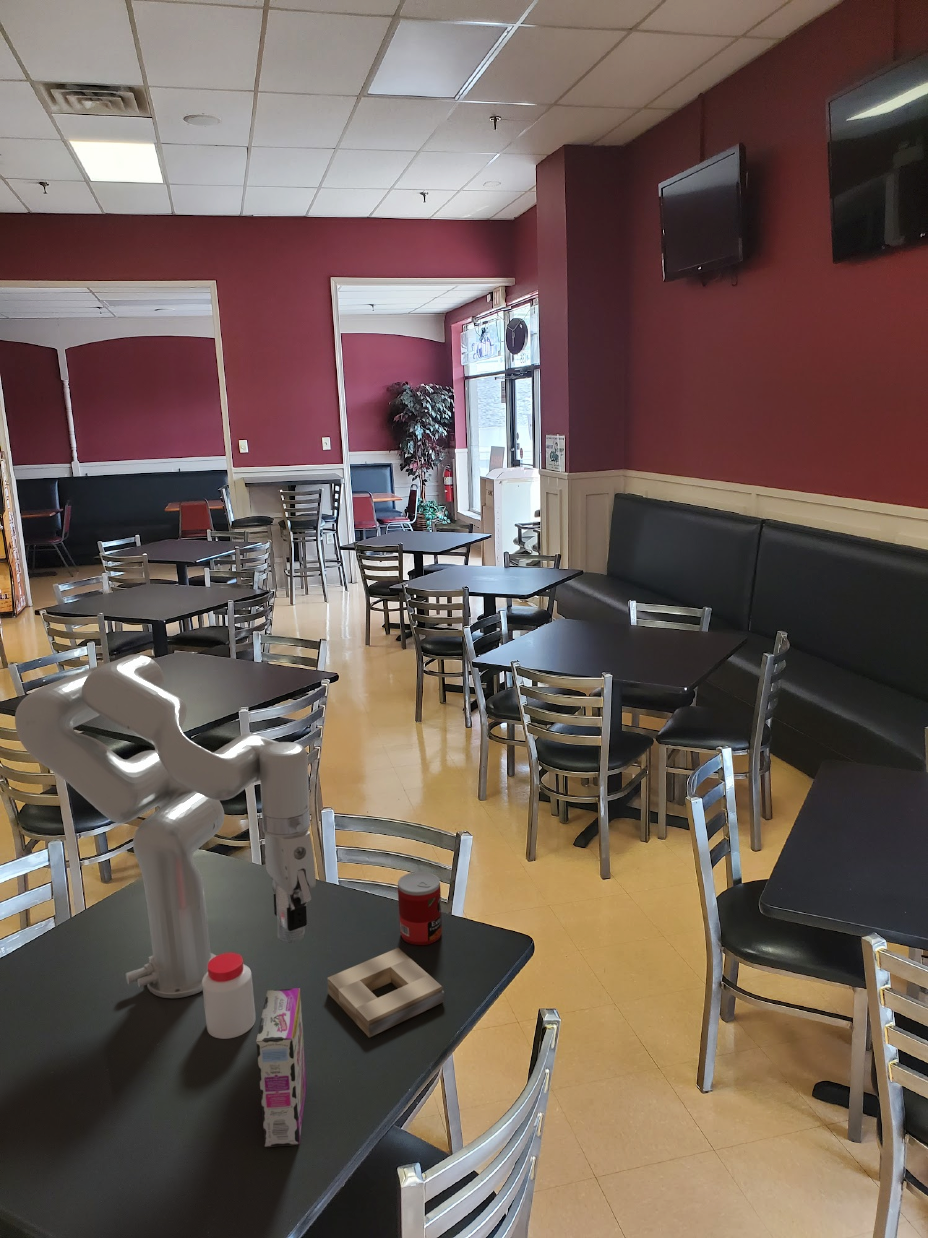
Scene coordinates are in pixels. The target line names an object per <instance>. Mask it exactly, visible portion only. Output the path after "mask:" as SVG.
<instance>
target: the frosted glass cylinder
mask: <svg viewBox="0 0 928 1238" xmlns="http://www.w3.org/2000/svg"><path fill="white" fill-rule="evenodd" d="M275 884H276V893H275V894H276V906H277V916H276V921H277V923H276V924H277V939H278V941H280V942H281V943H287V944H291V943H296V942H299V941H301V940H302V939H303V938H304V937H305V936H306V935H305V934H306V931H305V927H306V926H304V927H301V928H298V929H295V930H292V931H289V930H288V928H287V908H289V904H288V897H287V893H286V892H285V891H284V890H283V889H282V888H281V887H280V886H279V885H278V884H277V883H276V882H275ZM296 887H298V886H297V885H296ZM296 887H295V888H296ZM299 896H300V893H296V894H293V898H294V900H295V898H297V897H299Z"/></svg>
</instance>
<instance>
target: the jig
mask: <svg viewBox="0 0 928 1238" xmlns="http://www.w3.org/2000/svg"><path fill="white" fill-rule="evenodd" d="M390 983H391V984H393V986H394V987H395V988H397V989H394V990H392V991H390V992H388V993H386V994H384V995H381V996H379V997H377V996H376V995H375V994H374V993H373V991H374V990H377V989H380V988H382V987H383V986H386V985H389V984H390ZM327 994H328V995H329V996H330V997H331V998H332V999H333V1000H334V1001H335V1002H336V1004H338V1006H339V1007H340V1008H341V1009H342V1010H343V1011H344V1012H345V1013H346V1014H347V1015H348V1016H349V1017H350V1019H351V1020H353V1022H354V1023H355V1024H356V1025H357V1026H358V1027H359V1029H361V1030H362V1032H363V1033H364V1034H366V1036H367V1037H368V1038H371V1037H374V1036H376V1035H377V1034H380V1033H382V1032H384V1031H386V1030H388V1029H390V1028H392V1027H395V1026H397V1025H399V1024H401V1023H403V1022H405V1021H407V1020H409V1019H411V1018H413V1017H416V1016H417V1015H419V1014H421V1013H424V1012H426V1011H427V1010H430V1009H432V1008H434V1007H437V1006H438V1005H440V1004H442V1003H443V1002H445V1000H446V999H445V996H446V995H445V991H444V990H443V985H441V984H440V983H439V982H438V981H437V980H435V979H434V978H433V977H432V976H431V975H430V974H429V973H428V972H426V971H425V970H424V969H423V968H422V967H421V966H419V964H417V962H415V961H414V960H413V959H412V958H411V957H409V956H408V955H407V954H406V953H405V952H404V951H402V949H400V948H399V947H395V948H394V949H392V950H389V951H387V952H385V953H383V954H380V955H378V956H375V957H373V958H369V959H367V960H365V961H363V962H361V963H359V964H357V965H353V966H352V967H349V968H347V969H344V970H342V971H340V972H338V973H335V974H333V975H331V976H328V977H327Z"/></svg>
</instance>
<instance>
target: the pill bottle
mask: <svg viewBox="0 0 928 1238" xmlns="http://www.w3.org/2000/svg"><path fill="white" fill-rule="evenodd" d="M252 975H253V974H252V971H251V969H250V967H249V966H247V964H244V959H243V956H242V955H240V954H239V953H236V952H224V953H220V954H218V955H216V957H214V958H212V959H211V960H210V961H209V963H208V972H207V973H206V974H205V975H204V977H203V979H202V989H203V991H202V995H203V1007H204V1015H205V1022H206V1023H205V1026H206V1031H207V1032H208V1034H209V1035H210V1036H211V1037H212V1038H216V1039H222V1040H225V1039H226V1040H227V1039H234V1038H236V1037H240V1036H242V1035H244V1034H246V1033H247V1032H249V1031H250V1030H251V1029H252V1028H253V1027H254V1025H255V1023H256V1020H257V1019H256V1018H257V1016H256V1006H255V995H254V984H253V976H252Z"/></svg>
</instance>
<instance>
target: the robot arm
mask: <svg viewBox="0 0 928 1238" xmlns="http://www.w3.org/2000/svg"><path fill="white" fill-rule="evenodd" d="M164 683H165V677H164V672H163V670H162V668H161V666H160V665H159V664H158V663H157V662H156V661H155V660H154V659H152V657H150V656H149V657H148V656H147V655H144V654H139V653H136V654H129V655H127V656H124V657H121V658H119V659H116V660H113V661H110V662H107V663H104V664H101V665H98V666H93V667H91V668H88V669H85V670H83V671H79V672H77V673H74V674H72V675H70V676H67V677H64V678H62V679H60V680H59V679H58V680H56V681H54V682H51V683H49V684H46V685H43V686H42V687H39V688H37V689H36V690H34V691H32V692H31V693H29V694H27V695H26V696H25V697H24V698H23V699H22V700H21V701H20V703H19V704H18V705H17V707H16V710H15V715H14V724H15V725H14V726H15V730H16V735H17V736H18V739H19V741H20V743H21V745H22V747H24V749H25V751H27V752H28V754H29V755H31V756H32V758H34V759H35V760H36V761H37V762H39V763H40V764H42V765H43V766H45V767H46V768H48V769H49V770H50V771H52V772H53V773H55V774H56V775H57V776H59V777H61V778H62V779H63V780H64V781H65V782H66V783H67V784H69V785H70V786H71V788H73V789H74V790H75V791H76V792H77V793H78V794H80V795H81V796H82V797H83V798H84V799H85V800H86V801H87V802H88V803H89V804H91V805H92V806H93V807H94V808H95V809H96V810H98V812H100V813H101V814H102V815H103V816H104V817H106V818H107V819H108V820H110V821H111V822H113V823H116V824H125V823H129V822H132V821H133V820H135V819H137V818H138V817H140V816H141V815H143V814H145V813H146V812H148V811H149V810H151V809H152V808H154V807H155V806H157V807H159V808H158V809H157V810H155V811H154V812H152V813H151V814H149V815H148V816H147V817H146V818H145V819H144V820H142V822H141V823H140V824H139V826H138V827H137V829H136V830H135V833H134V835H133V840H132V845H133V847H132V849H133V852H134V855H135V858H136V861H137V863H138V866H139V869H140V872H141V876H142V881H143V886H144V893H145V900H146V907H147V909H146V910H147V916H148V924H149V932H150V933H149V934H150V941H151V949H152V955H150V956H148V963H145V964H143V967H141V968H137V969H134V970H131V971H128V972H126V973H125V979H126V983H127V984H128V985H130V984H131V985H132V984H134V983H136V982H137V985H138V988H142V987H144V986H147V990H149V992H150V993H152V994H153V995H155V996H157V997H159V998H165V999H179V998H186V997H190V996H194V995H197V994H198V993H200V992H203V989H202V979H203V977H204V975H205V974H206V973H207V972H208V963H209V961H210V960H211V959H212V958H214V957H216V956H217V955H216V954H214V953H213V952H212V951H211V944H210V943H211V942H210V933H209V924H208V915H207V905H206V897H205V889H204V888H205V887H204V886H205V885H204V880H203V876H202V874H201V871H200V870H199V868H198V867H197V865H196V864H195V863H194V859H193V856H194V853H195V852H196V851H198V850H199V849H200V848H201V847H202V846H203V845H205V844H206V843H207V842H208V841H209V840H210V839H212V838H213V837H214V836H215V835H216V834H217V833H219V831H220V830H221V829H222V827H223V824H224V821H225V811H224V808H223V805H222V803H221V801H226V800H230V799H233V798H235V797H236V796H237V795H239V794H240V793H242V792H243V791H244V790H245V789H246V788H248V787H250V785H252V784H254V783H257V782H259V781H260V782H259V783H260V799H261V818H262V819H261V820H262V832H263V833H264V858H265V859H264V861H265V869H266V872H267V873H268V875H269V876H270V879H272V885H271V886H272V892H273V908H274V909H273V911H274V916H276V917H277V906H276V884H275V882H276V883H277V884H278V885H279V886H280V887H281V888H282V889H283V890H284V891H285V892H286V893H287V897H288V904H289V908H287V928H288V930H289V931H292V930H295V929H298V928H301V927H304V926H305V927H306V926H307V924H308V921H307V920H308V919H307V918H308V917H307V906H308V902H310V901H312V896H311V892H310V889H313V888H315V887H316V885H317V881H316V880H317V879H316V866H315V857H314V848H313V842H312V837H311V833H310V830H309V829H310V827H311V815H310V811H311V810H310V790H309V789H310V788H309V787H310V786H309V783H310V782H309V760H308V759H309V758H308V752H307V749H306V748H305V747H304V746H303V745H301V744H299V743H296V742H291V741H280V742H279V741H277V740H273V739H271V738H267V737H265V736H262V735H259V734H256V733H245V734H241V735H240V736H238V737H235V738H233V739H232V740H231V741H230V742H228V743H226V744H224V745H223V746H222V747H220V748H219V749H217V750H215V751H214V752H211V751H210V750H208V749H206V748H204V747H202V746H200V745H199V744H197V743H195V742H194V741H192V740H191V739H190V738H188V737H187V735H186V734H185V733H184V732H183V730H182V728H183V725H184V722H186V721H185V720H186V718H187V711H188V709H187V704H186V702H185V701H184V700H183V699H182V698H180V697H179V696H177V695H175V694H173V693H172V692H169V691H167V690H165V689H163V687H164ZM99 716H101V717H104V718H105V719H107V720H108V721H110V722H113V723H114V724H116V725H118V726H120V727H122V728H124V729H125V730H127V731H129V732H131V733H133V734H134V735H136V736H137V737H139V738H140V739H143V740H145V741H146V742H147V743H148V742H149V743H150V744H151V745H152V746H153V747H154V750H152V749H150V750H144V751H141V752H139V753H136V754H135V755H132V756H131V757H129V758H127V759H123V758H122V757H121V756H119V755H117V753H115V752H114V751H112V750H111V749H110V748H109V747H108V745H107V744H104V742H102V741H100V740H98V739H96V738H95V737H92V736H89V735H86V734H83V733H80V732H78V731H75V730H74V728H76V727H78V726H80V725H82V724H84V723H86V722H88V721H90V720H92V719H95V718H97V717H99ZM296 885H297V886H298V887H296ZM295 887H296V888H295ZM296 893H300V896H299V897H297V898H295V900H294V898H293V894H296Z"/></svg>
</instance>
